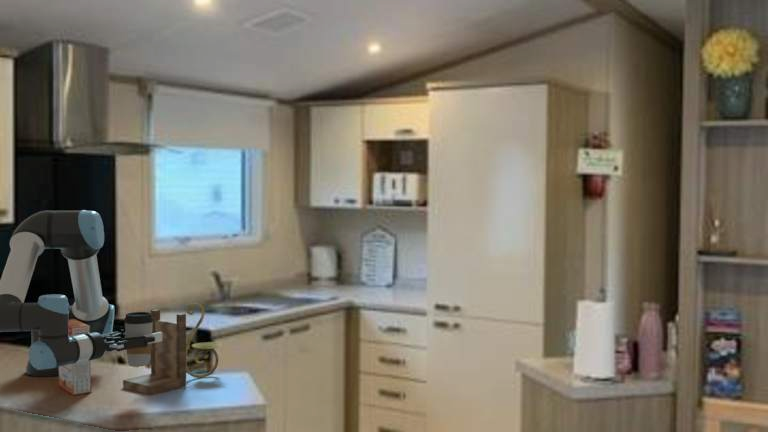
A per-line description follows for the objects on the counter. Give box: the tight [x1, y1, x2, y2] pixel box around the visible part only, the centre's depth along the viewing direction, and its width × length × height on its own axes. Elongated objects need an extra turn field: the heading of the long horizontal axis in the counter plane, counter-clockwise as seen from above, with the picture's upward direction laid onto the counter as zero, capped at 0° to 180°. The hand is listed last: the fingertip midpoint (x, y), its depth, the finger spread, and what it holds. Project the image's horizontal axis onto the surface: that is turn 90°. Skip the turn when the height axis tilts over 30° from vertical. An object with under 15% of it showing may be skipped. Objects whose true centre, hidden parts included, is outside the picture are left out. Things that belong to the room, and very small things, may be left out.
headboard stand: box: [122, 309, 187, 396], centre depth 262 cm, size 14×13×23 cm
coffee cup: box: [123, 311, 153, 368], centre depth 247 cm, size 8×8×15 cm
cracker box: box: [58, 319, 92, 396], centre depth 258 cm, size 14×6×21 cm, turn 38°
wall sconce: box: [186, 302, 222, 379], centre depth 275 cm, size 14×10×25 cm
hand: (152, 334), depth 251 cm, fingers closed on coffee cup, 7 cm apart
